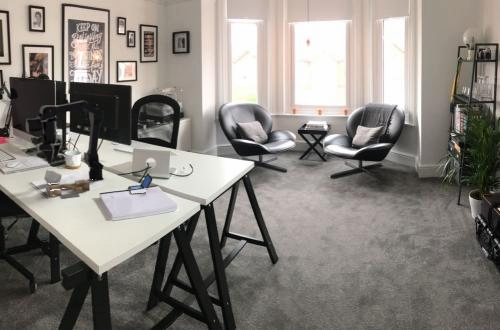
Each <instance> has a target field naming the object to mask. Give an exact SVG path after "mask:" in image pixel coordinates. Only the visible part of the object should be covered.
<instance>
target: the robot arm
mask: <svg viewBox="0 0 500 330" xmlns="http://www.w3.org/2000/svg"><path fill="white" fill-rule="evenodd" d="M78 110H84V111H85V112H86V113H87V114H88V115H89V116H88V118H89V122H90V128H89V129H90V131H89V141H88V149H87V151H86V152H83V162H84V164H86V165H87V166H88V168H89V170H88V178H89V180H90V179H91V180H92V179H93V180H94V181H100V180H101V181H102V180H104V178H103V176H104V175H103V169H104V164H103V163H102V162H100V160H99V159H100V158H99V153H98V146H99V135H100V127H101V124H102V122H103V119H104V117H105V116H104V115H105V112H104V110H103V109H101V108H97V107H96V106H93V105H92V104H90V103H89V102H87V101H85V100H79V101H74V102H70V103H69V102H68V103H65V104H58V105H55V104H54V105H53V104H52V105H42V106H40V108H39V113H38V114H37V116H36V118H26V120H25V124H24V125H25V126H24V127H25V130H26V132H27V133H39V132H41V131H43V132H42V133H41V136H38V137H37V136H34V137H32V138H31V144H33V145H34V146H37V145H39V146H38V150H39V151H40V152H42V153H43V154H44V155H45V157H46V159H47V161H48V163H52V161H53V158H54V159H57V158H58V156H59V153H60V150H61V148H62V144H63V139H62V138H61V137H57V134H58V131H56V122H59V121H60V120H59V119H58V118H57V117H56V116H58V115H60V114H62V113H67V112H72V111H78ZM91 180H90V181H91Z"/></svg>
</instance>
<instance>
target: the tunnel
mask: <svg viewBox="0 0 500 330" xmlns="http://www.w3.org/2000/svg"><path fill="white" fill-rule="evenodd" d="M62 188H66V189H65V190H68V189H67V188H73V189H75V182H74V183H73V182H72V183H63V184H62V183H61V184H55V185H48V184H47V185H46V184H45V192H46V191H47V192H46V195H47V197H48V198H50V197H54V196H53V195H59V196H61V195H63V194H62V190H54V191H50V190H52V189H62ZM75 191H76V192H75V193H78V194H82V193H83V191H82V187H79V188H76V189H75Z"/></svg>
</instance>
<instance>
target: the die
mask: <svg viewBox="0 0 500 330" xmlns="http://www.w3.org/2000/svg"><path fill="white" fill-rule="evenodd" d="M62 176H63V175H62V174H61V172H60V171H59V170H58V168H54V169H52V168H51V169H47V170H45V175H44V179H43V180H44V181H45V182H46V183H47V184H48V183H50V184H51V183H58V182H61V179H62Z"/></svg>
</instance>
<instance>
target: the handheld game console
mask: <svg viewBox="0 0 500 330" xmlns="http://www.w3.org/2000/svg"><path fill="white" fill-rule="evenodd" d="M152 182H153V177H152V176H151V175H150V174H149V173H146V175H145V176H144V178H143V180H142V182H141V183H140V184H139V185H138V184H136V185H129V186H127V187H128V190H129V189H137V188H144V187H145V188H148V189H149V187H150V185H151V184H152Z"/></svg>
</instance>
